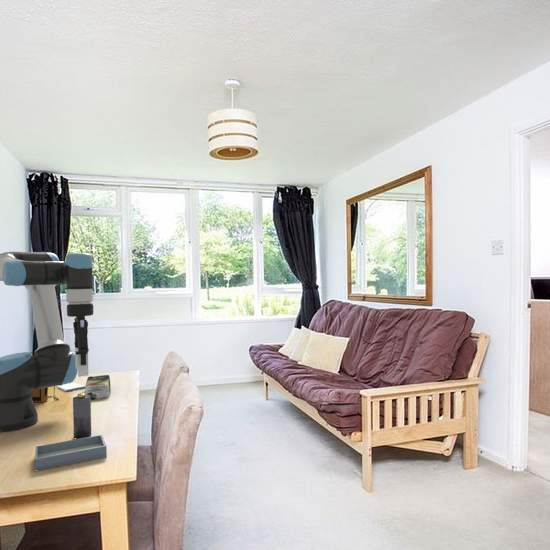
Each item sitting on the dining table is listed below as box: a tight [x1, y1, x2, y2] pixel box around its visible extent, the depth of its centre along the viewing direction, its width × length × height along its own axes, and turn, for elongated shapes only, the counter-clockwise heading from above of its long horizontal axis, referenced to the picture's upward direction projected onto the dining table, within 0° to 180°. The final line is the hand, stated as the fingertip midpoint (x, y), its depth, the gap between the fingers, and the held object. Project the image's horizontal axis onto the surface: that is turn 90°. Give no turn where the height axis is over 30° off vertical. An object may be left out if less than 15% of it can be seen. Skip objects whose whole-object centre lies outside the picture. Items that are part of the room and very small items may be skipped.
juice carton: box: [84, 374, 111, 399], centre depth 186 cm, size 20×10×6 cm, turn 21°
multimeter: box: [29, 351, 59, 403], centre depth 178 cm, size 15×10×20 cm
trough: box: [34, 434, 108, 471], centre depth 119 cm, size 10×17×3 cm, turn 118°
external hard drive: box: [55, 381, 86, 393], centre depth 197 cm, size 2×8×12 cm
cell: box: [72, 392, 92, 439], centre depth 135 cm, size 5×5×13 cm
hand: (81, 372), depth 135 cm, fingers open, 13 cm apart
